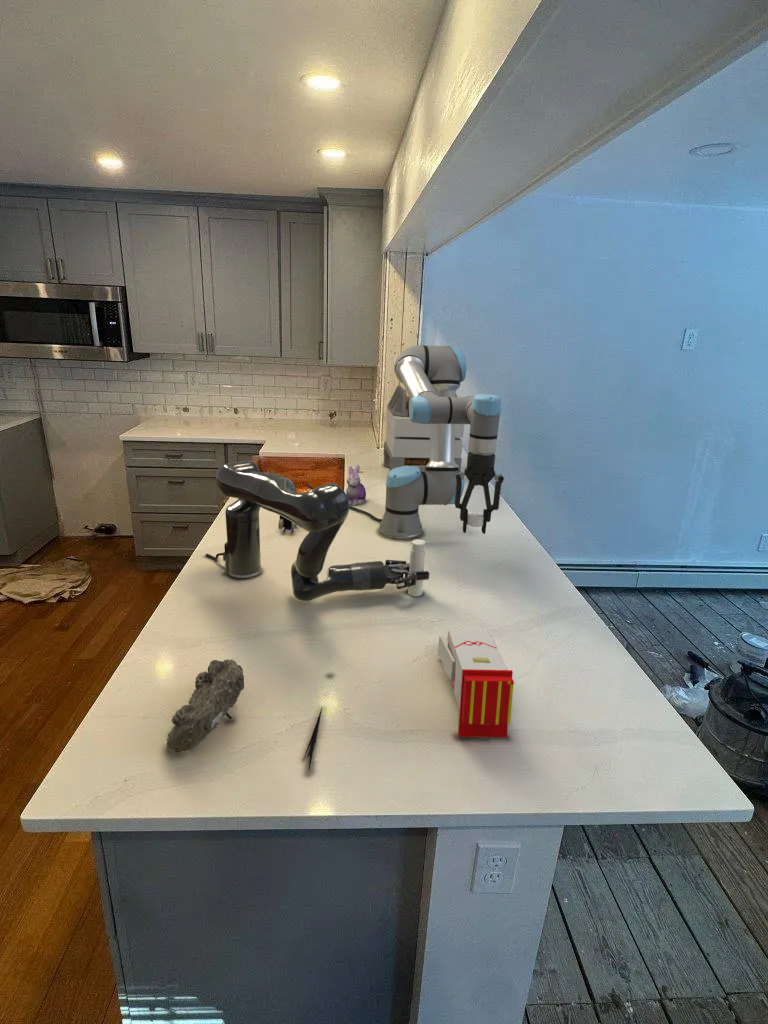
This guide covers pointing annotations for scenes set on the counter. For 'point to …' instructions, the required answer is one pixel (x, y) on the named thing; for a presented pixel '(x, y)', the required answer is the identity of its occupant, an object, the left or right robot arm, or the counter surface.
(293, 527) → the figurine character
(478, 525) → the lid
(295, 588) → the left robot arm
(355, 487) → the figurine
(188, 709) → the fossil
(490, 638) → the toy
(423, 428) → the white slatted crate
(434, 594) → the counter surface
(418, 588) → the white long cylinder
